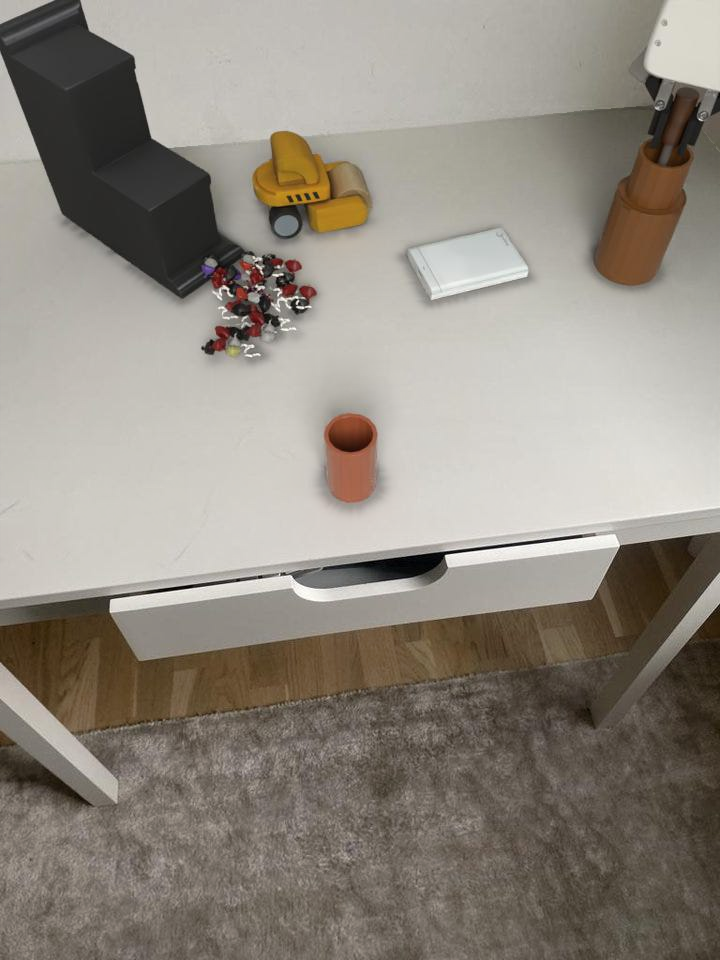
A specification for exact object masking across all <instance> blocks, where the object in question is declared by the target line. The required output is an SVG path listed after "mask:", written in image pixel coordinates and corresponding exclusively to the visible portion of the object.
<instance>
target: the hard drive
mask: <svg viewBox="0 0 720 960" xmlns="http://www.w3.org/2000/svg"><path fill="white" fill-rule="evenodd" d="M406 256H407V260H408V262H409V263H410V265H411V267H412V269H413V271H414V273H415V274H416V276H417V278H418V281H419V282H420V284H421V286H422V288H423V289H424V291H425V293H426V296H427V297H428V299H429V300H430V301H433V300H438V299H440V298H446V297H450V296H453V295H459V294H463V293H467V292H470V291H474V290H478V289H482V288H483V289H484V288H488V287H491V286H495V285H499V284H503V283H507V282H511V281H515V280H520V279H524V278H527V277H528V276H529V272H530V271H529V266H528V265H527V263H526V262H525V260H524V258H523V257H522V256H521V254H520V253H519V251H518V249H517V248H516V247H515V245H514V244H513V242H512V241H511V239H510V238H509V236H508V235H507V233H506V232H505V231H504V229H503V228H502V227H497V228H491V229H488V230H484V231H480V232H475V233H471V234H466V235H462V236H458V237H452V238H448V239H444V240H443V239H442V240H439V241H435V242H431V243H427V244H426V243H425V244H423V245H418V246H414V247H411V248H407V253H406Z"/></svg>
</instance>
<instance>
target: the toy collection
mask: <svg viewBox="0 0 720 960" xmlns="http://www.w3.org/2000/svg"><path fill="white" fill-rule="evenodd" d="M202 260H203V263H204V265H202V266H201V267H202V270H203V271H204V272H205V273H206V275H205V276H204V278H206V276H207V275H208V274H212V273H213V278H212V279H211V283H212V287H213V290H212V291H211V292H212V294H213V295H215V296H216V297H217V299H219V301H220V302H222V301H223V298H222V297H223V292H224V293H226V295H228V296H229V297H230V298H234V297H235V298H236V299H237V300H235V301H228V302H227V303H226V304H225V306H224V305H219V306H218V307H217V310H221V309H222V311H221V318H222V319H223V320H231V319H236V320H237V319H239V317H241V322H242V323H237V324H233V326H232V325H230V323H228V324H227V325H216V326H215V327H214V331H215V335H216V336H217V337H219V338H217V339H215V340H214V339H212V338H210V339H209V340H208V341H207V342H206V343H205V345H201V347H200V349H201V351H204V354H206V355H209V356H214V355H215V352H222V351H225V354H226V355H227V356H229V357H232V358H236V357H237V356H239V354H240V353H241V348H243V347H245V348H244V350H243V352H244V357H246V358H248V357H249V358H253V357H257V356H258V357H261V353H259V352H254V353H252V354H249V353H247V351H248V350H250V349H251V348H252V349H254V348H255V344H252V343H251V344H247V343H242V341H244V342H249V341H250V338H251V337H252V338H257V337H260V340H261V341H262V342H264V343H267V344H271V343H272V342H273V341H274V340H275V338H276V334H277V330H276V328H278V327H280V330H281V331H282V332H289V331H292V330H293V331H297V328H296V327H294V326H292V327H291V326H290V327H288V328H287V327H283V325H285V324H287V323H290V322H291V318H284V317H280V316H279V315H278V314H277V315H274V314H273V313H269V312H268V311H269V310H270V309H271V307H273V308H274V310H276V312H278V313H279V314H280V313H281V304H280V302H284V306H286V308H287V309H289V310H292V311H293V312H294V314H295V315H296V316H298V315H299V314H304V313H305V312H306V311H307V310H308V309H312V305H311V304H310V298H313V297H316V296H317V295H318V292H317V290H316V288H314V287H313V286H311V284H307V285H302V286H298V285H297V284H294V281H295V278H296V275H295V274H296V272H298V271H300V270H302V269H303V265H302V263H300V261H299V260H297V258H293V259H287V260H286V261H285V260H284V259H283V258H279V256H277V255H276V254H274V253H268V252H267V255H266V254H263V255H262V256H261V257H257V256H256V255H255V253H254V252H253V251H251V250H250V251H249V250H247V251H245V252H243V253H241V254H240V259H239V260H241V261H239V266H240V267H241V268H242V269H243V270H242V272H241V271H240V270H239V269H238V268H236V266H234V265H233V264H232V265H230V266H229V267H227V268H226V269H225V270H224V269H222V264H221V262H220V260H219V259H218V258H217V257H216V256H215V255H208V256H205V257H203V259H202ZM259 261H260V262H261V263H262V265H261V264H259V263H260V262H259ZM284 267H285V268H286V270H287V271H283V272H279V273H275V272H276V271H280V270H281V269H283V268H284ZM210 277H212V276H210ZM270 277H276V278H275V284H276V286H275V287H274V288H272V286H271V285H270V286H269V287H266V286H265V285H266V283H268V280H267V279H268V278H270ZM239 280H241V281H242V282H244V283H246V284H240V283H237V281H239ZM268 289H270V291H272V290H273V292H277V294H276V297H277V299H276V303H274V301H275V300H274V299H273V298H272V295H271V293H266V292H265V290H268ZM216 290H218V291H216ZM222 291H223V292H222ZM298 293H300V295H301V296H299V295H296V294H298ZM280 295H282V296H280ZM290 296H292V297H290ZM242 300H244V301H245V302H251V303H253V304H247V305H246V304H245V303H244V302H242ZM288 301H290V305H289V304H288ZM257 304H258V306H256V305H257ZM227 312H229V313H231V314H233V315H230V316H226V315H225V313H227ZM248 318H249V319H250V322H248V321H245V320H246V319H248ZM280 321H281V322H280ZM238 325H241V326H240V327H238ZM227 341H228V345H229V346H228V347H227Z"/></svg>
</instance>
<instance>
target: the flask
mask: <svg viewBox="0 0 720 960" xmlns="http://www.w3.org/2000/svg"><path fill="white" fill-rule="evenodd" d="M652 139H653V137H651V138H648V139H646V140H644V141H643V142H642V143H641V144H640V146H639V148H638V150H637V154H636V157H635V159H634V163H633V166H632V169H631V172H630V174H628V175H627V176H625V177H623V178H622V179H621V180H619V182H618V183H617V185H616V189H615V192H614V195H613V197H612V201H611V205H610V207H609V210H608V213H607V217H606V220H605V223H604V225H603V230H602V233H601V235H600V239H599V242H598V245H597V248H596V251H595V255H594V258H593V259H594V260H593V261H594V266H595V268H596V270H597V272H599V273H600V275H602V277H604V278H605V279H607V280H609V281H610V282H613V283H616V284H618V285H623V286H639V285H643V284H646V283H649V282H651V280H652V281H653V279H654V278H655V277H656V276H657V274H658V271H659V269H660V267H661V265H662V262H663V260H664V258H665V256H666V252H667V250H668V248H669V246H670V243H671V241H672V238H673V237H674V236H673V235H674V234H675V231H676V228H677V227H678V224H679V221H680V219H681V216H682V214H683V212H684V209H685V207H686V205H687V199H688V197H687V193H686V190H685V189H684V185H685V182H686V180H687V177H688V176H689V172H690V170H691V167H692V165H693V162H694V160H695V155H694V151H693V150H692V149H691V147H690V145H687V148H686V150H685V152H684V155H683V156H679V155H678V154H677V151H678V148H679V146H680V144H679V145H677V146H674V147H673V150H672V153H671V155H670V158H669V161H668V163H667V166H661V165H658V164H657V163H658V160H659V157H660V154H661V152H662V149H663V146H664V143H663V142H662V141H661V139H660V142H659V144H658V146H657V148H654V149H652V148H649V147H650V144H651V141H652Z"/></svg>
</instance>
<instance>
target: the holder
mask: <svg viewBox="0 0 720 960" xmlns="http://www.w3.org/2000/svg"><path fill="white" fill-rule="evenodd" d="M323 443H324V457H325V472H326V482H327V489H328V490H329V492H330V494H331V495H332V496H333V497H334V498H336V499H337V500H339V501H341V502H344V503H350V504H351V503H353V504H354V503H359V502H363V501H364V500H366V499H368V498H369V497H370V496H371V495H372V494H373V493H374V491H375V488H376V484H377V471H378V470H377V466H378V430H377V426H376V425H375V423H374V422H373V421H372V420H371V419H370V418H369V417H367V416H365V415H362V414H361V413H354V412H348V413H342V414H338V415H337V416H335V417H333V418H332V419H331V420H330V421H329V422H328V423H327V424H326V426H325V429H324V432H323Z"/></svg>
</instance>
